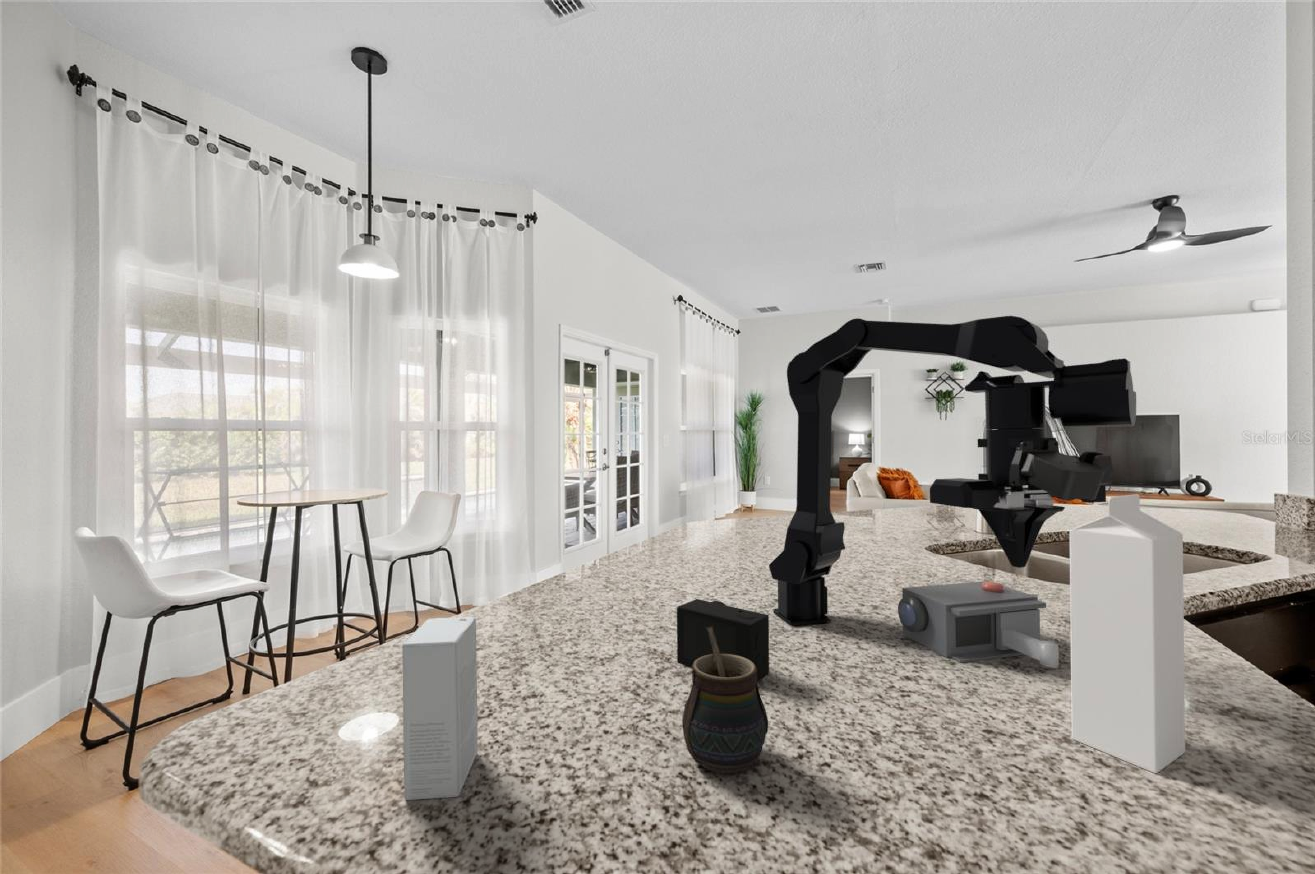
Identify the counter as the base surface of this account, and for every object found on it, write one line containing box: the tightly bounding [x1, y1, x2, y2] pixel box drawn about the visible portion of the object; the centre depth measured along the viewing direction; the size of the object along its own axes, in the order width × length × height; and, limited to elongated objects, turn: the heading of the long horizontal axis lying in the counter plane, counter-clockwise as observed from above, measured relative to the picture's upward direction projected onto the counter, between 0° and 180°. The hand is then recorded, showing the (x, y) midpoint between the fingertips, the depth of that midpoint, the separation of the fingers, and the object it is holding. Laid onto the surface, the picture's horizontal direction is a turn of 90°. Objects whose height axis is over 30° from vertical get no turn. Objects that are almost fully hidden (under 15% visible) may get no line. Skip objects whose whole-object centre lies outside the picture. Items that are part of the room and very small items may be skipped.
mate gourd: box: [681, 627, 769, 775], centre depth 46 cm, size 7×8×10 cm
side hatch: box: [996, 608, 1060, 669], centre depth 65 cm, size 6×7×5 cm
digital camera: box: [676, 598, 770, 683], centre depth 65 cm, size 10×5×7 cm, turn 51°
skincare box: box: [401, 616, 479, 801], centre depth 44 cm, size 6×4×12 cm
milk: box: [1069, 493, 1186, 774], centre depth 47 cm, size 6×6×22 cm
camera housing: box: [897, 580, 1047, 663], centre depth 71 cm, size 16×10×7 cm, turn 103°
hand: (1018, 566), depth 61 cm, fingers closed
